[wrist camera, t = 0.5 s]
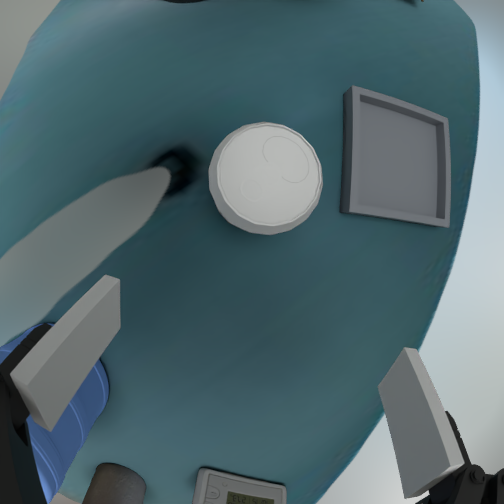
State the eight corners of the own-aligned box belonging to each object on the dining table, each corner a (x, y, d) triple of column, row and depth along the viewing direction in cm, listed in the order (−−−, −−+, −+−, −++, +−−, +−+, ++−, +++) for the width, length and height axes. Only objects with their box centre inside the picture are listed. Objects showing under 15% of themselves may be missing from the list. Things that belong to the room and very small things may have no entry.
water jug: (84, 311, 33) (-70, 430, 5) (128, 411, 35) (64, 569, 7) (11, 329, 32) (-113, 407, 4) (52, 415, 34) (-27, 525, 6)
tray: (343, 94, 33) (352, 85, 30) (435, 123, 35) (447, 118, 32) (339, 212, 35) (349, 211, 32) (436, 227, 37) (449, 227, 34)
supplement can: (251, 145, 33) (271, 93, 18) (299, 196, 34) (352, 180, 19) (199, 192, 33) (181, 169, 18) (249, 244, 34) (268, 261, 19)
